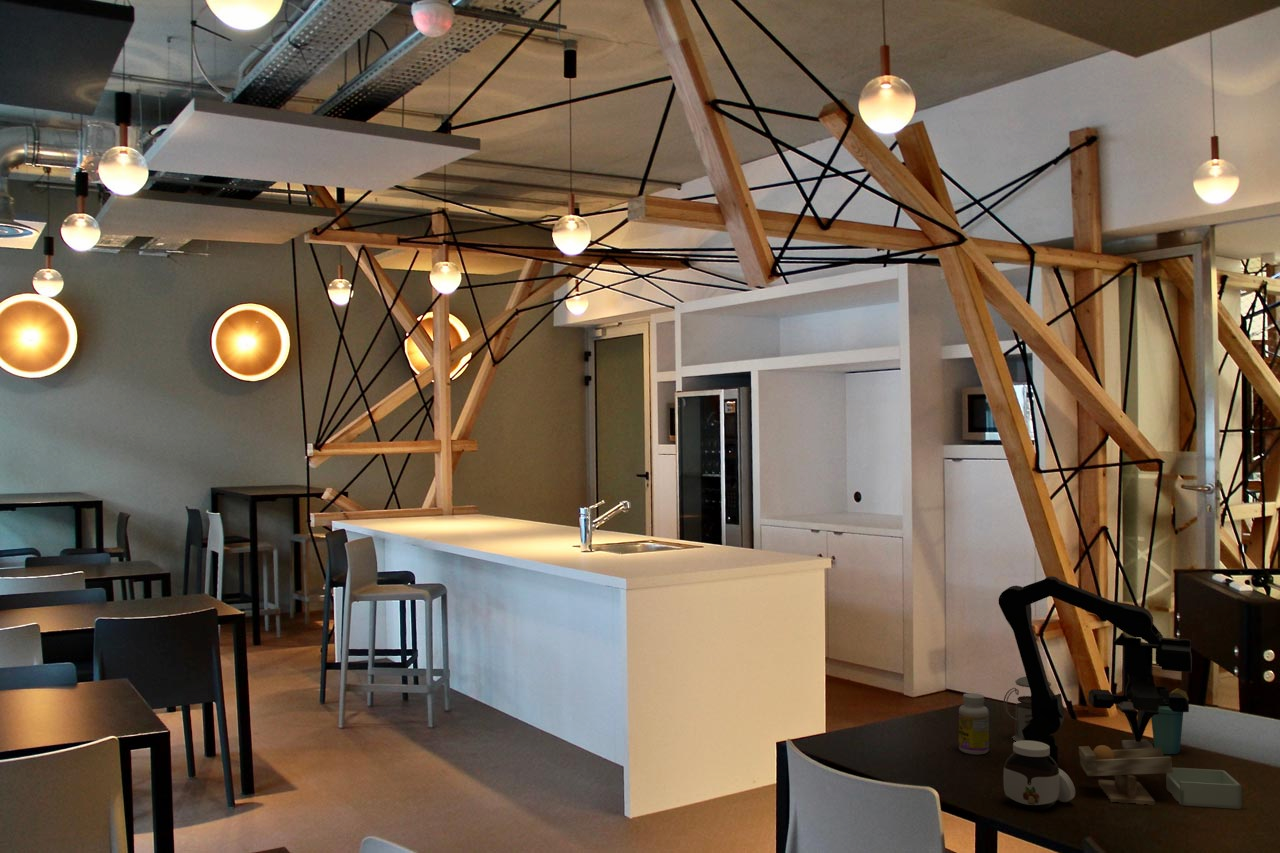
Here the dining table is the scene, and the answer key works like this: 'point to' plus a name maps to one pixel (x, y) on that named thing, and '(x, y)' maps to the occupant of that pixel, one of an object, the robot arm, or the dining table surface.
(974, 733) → the supplement bottle
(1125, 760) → the lever
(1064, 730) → the dining table surface
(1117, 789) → the stand
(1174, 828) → the dining table surface
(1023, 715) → the french press
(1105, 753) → the ball
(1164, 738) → the cup
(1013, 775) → the spread jar
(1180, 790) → the tray
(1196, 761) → the dining table surface
